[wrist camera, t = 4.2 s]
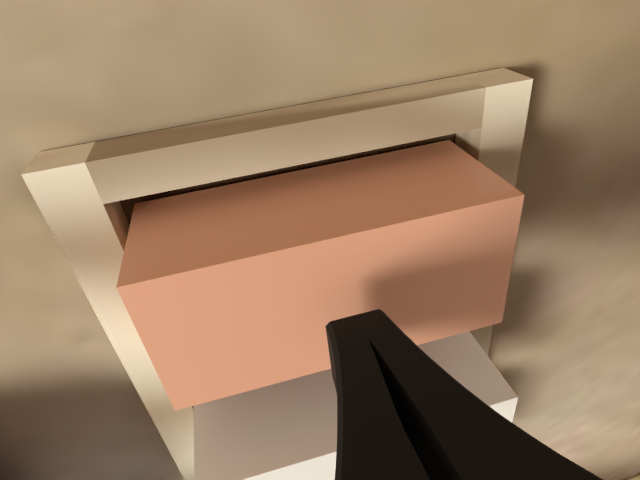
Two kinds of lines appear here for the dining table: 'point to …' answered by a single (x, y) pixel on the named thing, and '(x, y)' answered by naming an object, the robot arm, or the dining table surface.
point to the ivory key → (314, 419)
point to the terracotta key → (315, 265)
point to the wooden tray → (245, 159)
